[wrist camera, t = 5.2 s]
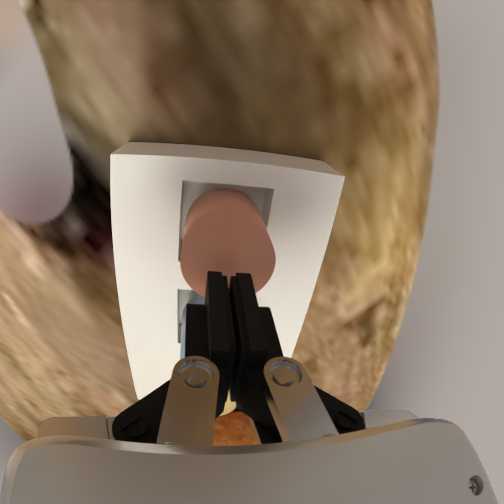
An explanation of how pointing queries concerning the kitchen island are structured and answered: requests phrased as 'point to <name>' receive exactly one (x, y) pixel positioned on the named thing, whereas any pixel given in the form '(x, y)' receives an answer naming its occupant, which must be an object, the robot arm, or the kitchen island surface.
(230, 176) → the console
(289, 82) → the kitchen island surface
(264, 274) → the rust button
